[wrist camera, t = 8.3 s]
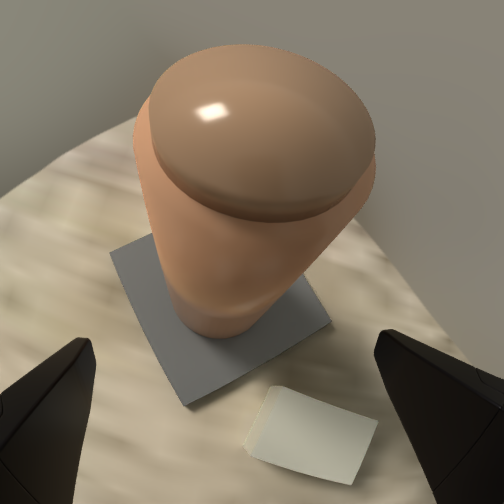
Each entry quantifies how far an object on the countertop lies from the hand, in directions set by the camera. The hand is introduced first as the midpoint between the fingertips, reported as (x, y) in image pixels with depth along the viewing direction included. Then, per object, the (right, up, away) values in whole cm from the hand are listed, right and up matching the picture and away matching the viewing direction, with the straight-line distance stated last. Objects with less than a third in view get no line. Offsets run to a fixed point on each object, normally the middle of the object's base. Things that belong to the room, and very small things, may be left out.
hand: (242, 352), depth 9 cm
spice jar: (-2, +1, +10) cm, 10 cm away
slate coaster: (-2, +1, +10) cm, 10 cm away
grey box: (+3, -8, +8) cm, 12 cm away
